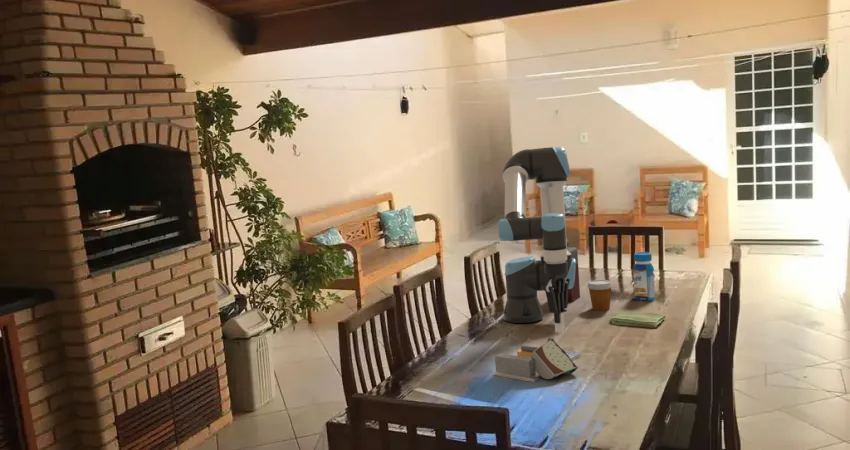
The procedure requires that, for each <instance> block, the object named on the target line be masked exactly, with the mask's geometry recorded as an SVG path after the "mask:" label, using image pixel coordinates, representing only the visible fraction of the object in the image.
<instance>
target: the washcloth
mask: <svg viewBox="0 0 850 450" xmlns="http://www.w3.org/2000/svg"><path fill="white" fill-rule="evenodd" d="M664 319H666V315H664V314H661V313H655V312H634V311H619V312H618V313H616V314H615V315H614V316H613V317H611V318H609V321H608V322H609V324H612V325H616V326H628V327H643V328H646V327H647V328H653V329H656V328H657V327H658V325H659V324H661V323H662V322H663V321H664Z"/></svg>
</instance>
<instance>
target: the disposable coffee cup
mask: <svg viewBox="0 0 850 450" xmlns="http://www.w3.org/2000/svg"><path fill="white" fill-rule="evenodd" d="M587 283H588V284H587V288H588V293H589V297H590V303H591V309H592V310H593V311H597V312H603V311H604V312H605V311H609V310H610V308H611V298H612V297H611V296H612V287H613V284H612V282H611V280H607V279H595V280H590V281H588V282H587Z"/></svg>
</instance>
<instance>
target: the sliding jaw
mask: <svg viewBox="0 0 850 450" xmlns="http://www.w3.org/2000/svg"><path fill="white" fill-rule="evenodd" d="M537 348H539V347H538V346H530V345H529V346H528V345H521V346H520V349H519V350H516V356H522V357H528V358H532V353H533V351H534V350H536V349H537Z"/></svg>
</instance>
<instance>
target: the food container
mask: <svg viewBox="0 0 850 450" xmlns="http://www.w3.org/2000/svg"><path fill="white" fill-rule="evenodd" d="M554 338H555V336H554V337H553V336H551V337H548V338H547V340H546V342H544V343H542V344H541V345H540V346H539V347H538V348H537V349H536V350H534V351H533V353H532V358H535V371H536V372H537V373H538V374H539V375H540V376H541V377H542V378H541V379H545V380H551V379H554V378H556V377H560V376H562V375H563V374H569V375H570V374H573V373H575V372H576V371H577V370H578V369H579V367H580V365H578V366H577V365H576V364H575V363H574V362H573V360H572V361H571V359H570V358H569V356H568V355H567V354H566V352H565V351H566V350H565V351H564V349H563V348H562V347H560V346H559V345H558V343H557V342H556V341H555V340H554Z"/></svg>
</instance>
